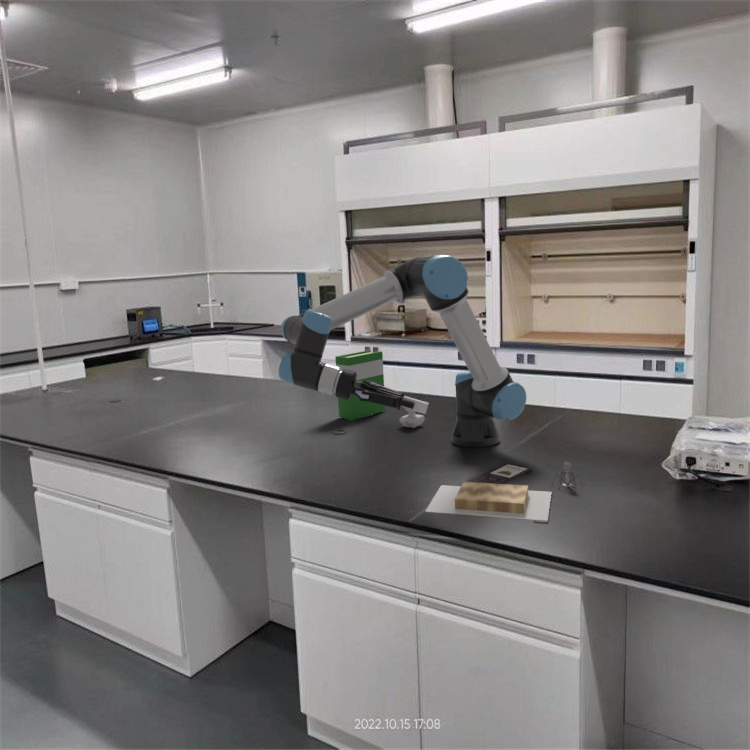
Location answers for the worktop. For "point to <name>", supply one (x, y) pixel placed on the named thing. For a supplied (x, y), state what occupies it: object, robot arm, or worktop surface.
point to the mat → (534, 510)
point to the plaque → (492, 497)
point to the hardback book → (367, 370)
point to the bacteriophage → (567, 475)
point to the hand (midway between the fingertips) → (427, 408)
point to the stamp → (411, 419)
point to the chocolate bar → (501, 474)
